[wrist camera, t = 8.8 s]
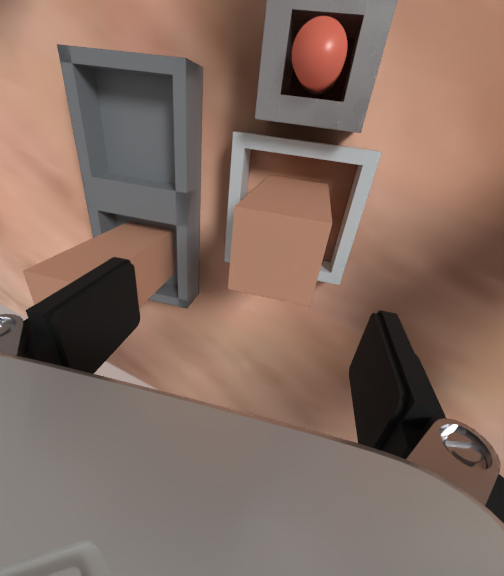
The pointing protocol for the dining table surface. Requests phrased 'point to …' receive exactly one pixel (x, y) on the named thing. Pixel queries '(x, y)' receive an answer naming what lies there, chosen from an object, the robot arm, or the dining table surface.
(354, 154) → the light grey square frame
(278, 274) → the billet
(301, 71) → the red egg shape
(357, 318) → the dining table surface
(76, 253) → the block
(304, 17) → the grey square holder
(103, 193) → the grey two-slot rack
